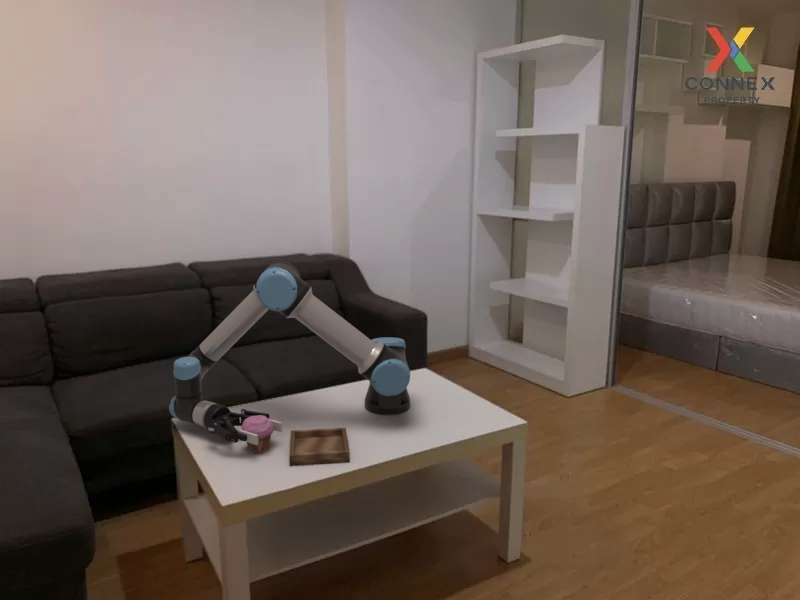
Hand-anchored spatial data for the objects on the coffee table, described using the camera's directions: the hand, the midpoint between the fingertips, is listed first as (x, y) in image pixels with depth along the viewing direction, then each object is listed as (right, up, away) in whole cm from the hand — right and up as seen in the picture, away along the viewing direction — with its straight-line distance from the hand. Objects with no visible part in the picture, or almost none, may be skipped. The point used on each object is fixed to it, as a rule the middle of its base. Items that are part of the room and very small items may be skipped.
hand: (269, 433), depth 178 cm
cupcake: (-4, -6, +4) cm, 8 cm away
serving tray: (+13, -5, +3) cm, 15 cm away
